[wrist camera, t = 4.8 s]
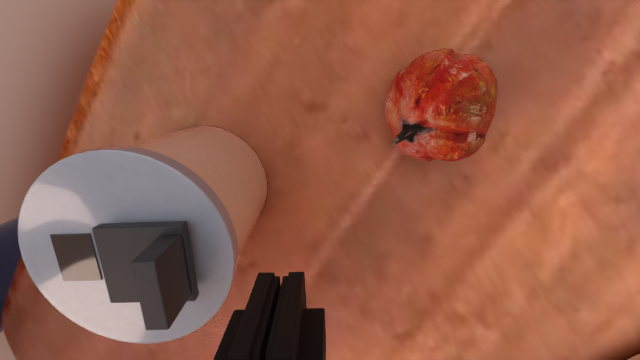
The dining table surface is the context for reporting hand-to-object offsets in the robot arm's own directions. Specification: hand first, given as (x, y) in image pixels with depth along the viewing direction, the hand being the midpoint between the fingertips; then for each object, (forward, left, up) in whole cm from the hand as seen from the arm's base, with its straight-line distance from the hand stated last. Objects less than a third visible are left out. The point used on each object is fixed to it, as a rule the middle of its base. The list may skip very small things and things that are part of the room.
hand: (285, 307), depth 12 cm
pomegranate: (+9, +6, -17) cm, 20 cm away
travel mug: (-9, 0, -16) cm, 18 cm away
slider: (-7, 0, -4) cm, 8 cm away
